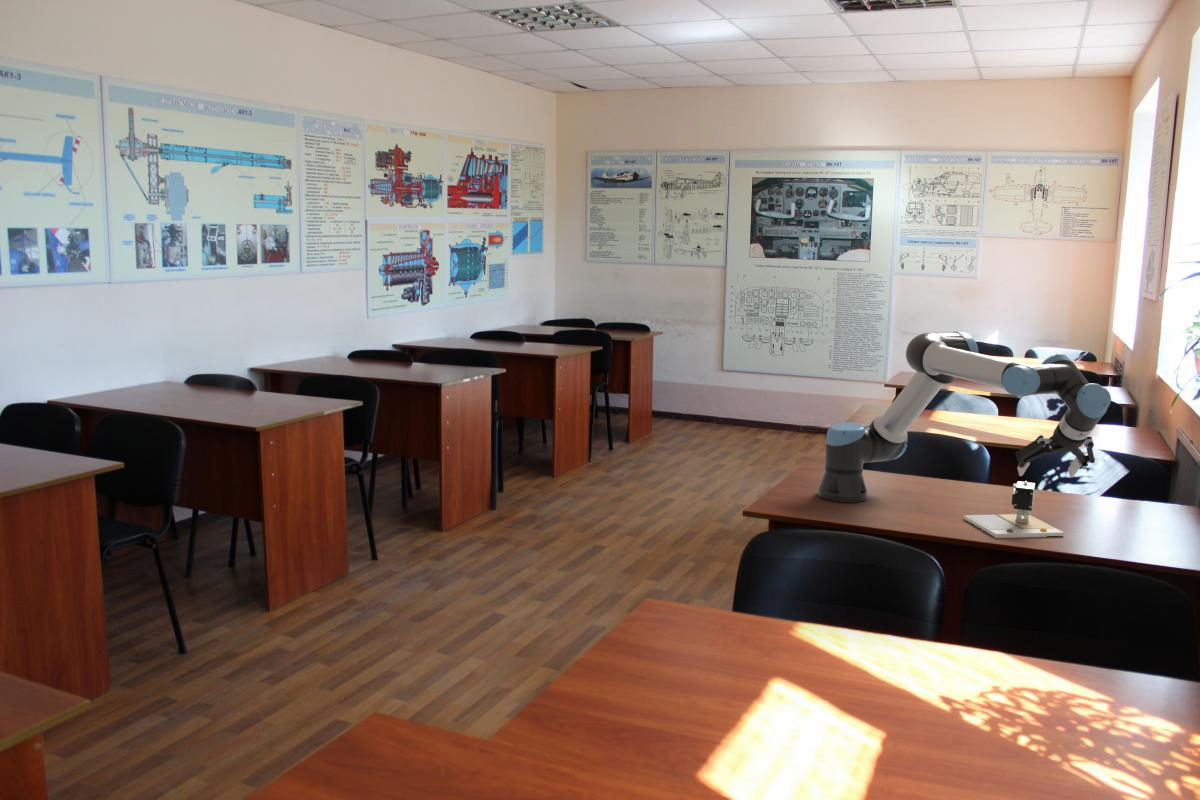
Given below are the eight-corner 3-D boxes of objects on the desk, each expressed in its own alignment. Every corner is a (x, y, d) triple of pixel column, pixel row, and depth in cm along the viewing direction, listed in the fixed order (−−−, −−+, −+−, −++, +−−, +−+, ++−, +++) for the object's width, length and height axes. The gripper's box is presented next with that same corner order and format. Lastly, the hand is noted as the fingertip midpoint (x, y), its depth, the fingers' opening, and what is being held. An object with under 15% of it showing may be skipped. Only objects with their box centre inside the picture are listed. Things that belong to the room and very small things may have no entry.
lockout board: (963, 519, 280) (964, 512, 280) (1027, 518, 283) (1028, 511, 282) (995, 538, 263) (996, 530, 262) (1063, 536, 265) (1064, 529, 265)
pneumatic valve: (1032, 518, 278) (1035, 478, 276) (1029, 528, 268) (1033, 486, 266) (1011, 515, 281) (1015, 475, 279) (1008, 525, 270) (1012, 484, 268)
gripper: (1027, 440, 243) (1001, 482, 260) (1127, 442, 242) (1094, 485, 259) (1021, 416, 248) (996, 459, 265) (1119, 418, 246) (1088, 462, 263)
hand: (1044, 472), depth 262 cm, fingers open, 13 cm apart
